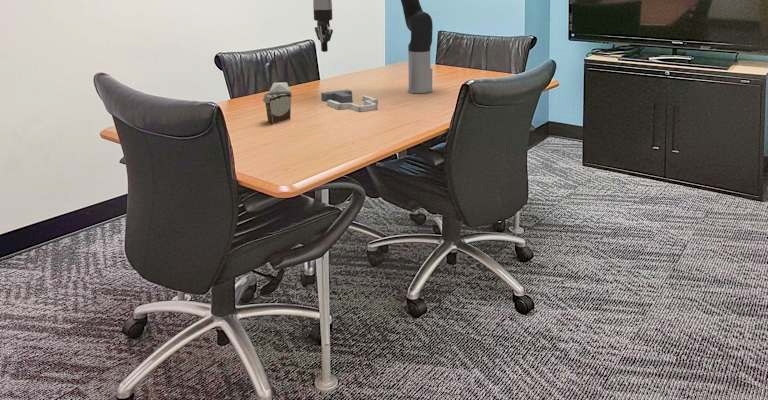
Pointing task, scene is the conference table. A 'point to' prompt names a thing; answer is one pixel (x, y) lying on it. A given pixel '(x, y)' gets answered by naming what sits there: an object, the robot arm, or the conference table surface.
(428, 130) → the conference table surface
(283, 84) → the grey rounded block
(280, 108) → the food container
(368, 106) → the t dock
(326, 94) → the t block
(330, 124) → the conference table surface
